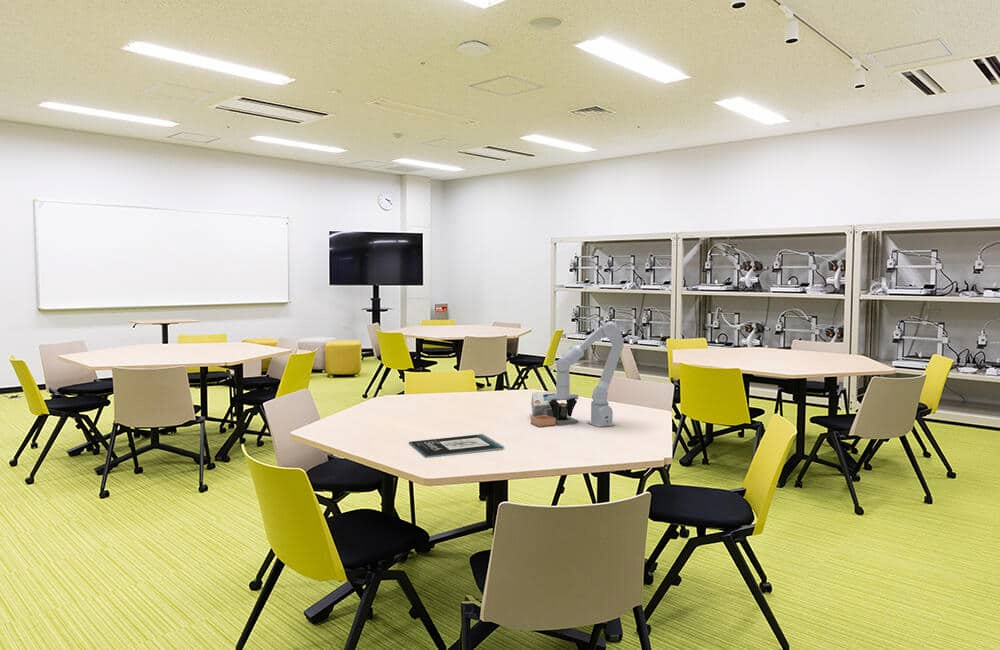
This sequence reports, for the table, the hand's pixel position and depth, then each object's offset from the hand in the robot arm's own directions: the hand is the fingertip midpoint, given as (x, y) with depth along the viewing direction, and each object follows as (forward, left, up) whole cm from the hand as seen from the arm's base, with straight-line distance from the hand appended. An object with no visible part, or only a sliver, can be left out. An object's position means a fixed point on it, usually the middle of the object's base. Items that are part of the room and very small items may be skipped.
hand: (562, 416), depth 291 cm
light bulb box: (+17, 0, 0) cm, 17 cm away
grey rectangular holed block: (+1, 0, -2) cm, 3 cm away
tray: (-1, +10, -2) cm, 10 cm away
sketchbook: (-21, +57, -3) cm, 61 cm away
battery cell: (0, 0, -2) cm, 2 cm away
